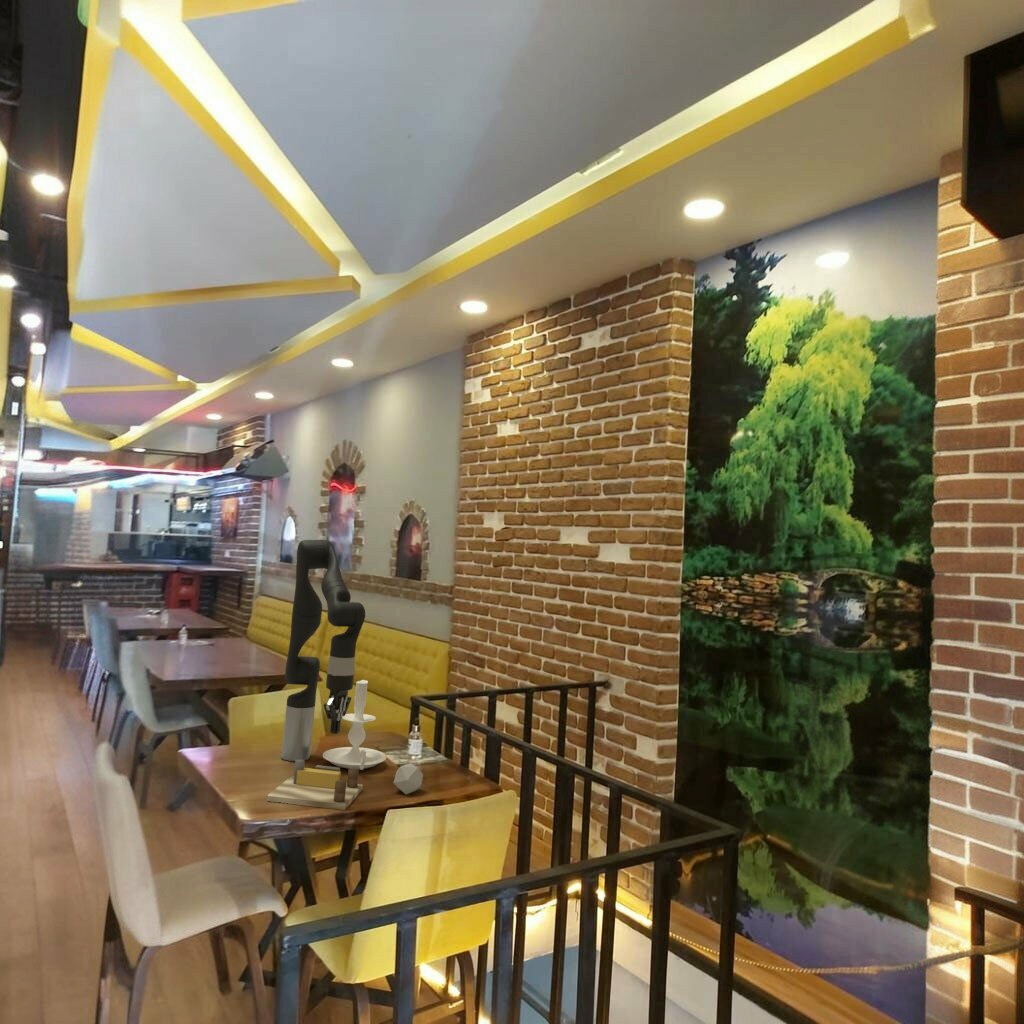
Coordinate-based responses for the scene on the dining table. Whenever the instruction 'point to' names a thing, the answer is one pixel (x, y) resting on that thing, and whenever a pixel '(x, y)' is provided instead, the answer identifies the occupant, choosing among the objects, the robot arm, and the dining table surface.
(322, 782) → the bar
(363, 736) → the candlestick
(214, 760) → the dining table surface
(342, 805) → the seat board
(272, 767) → the dining table surface
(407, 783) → the die
